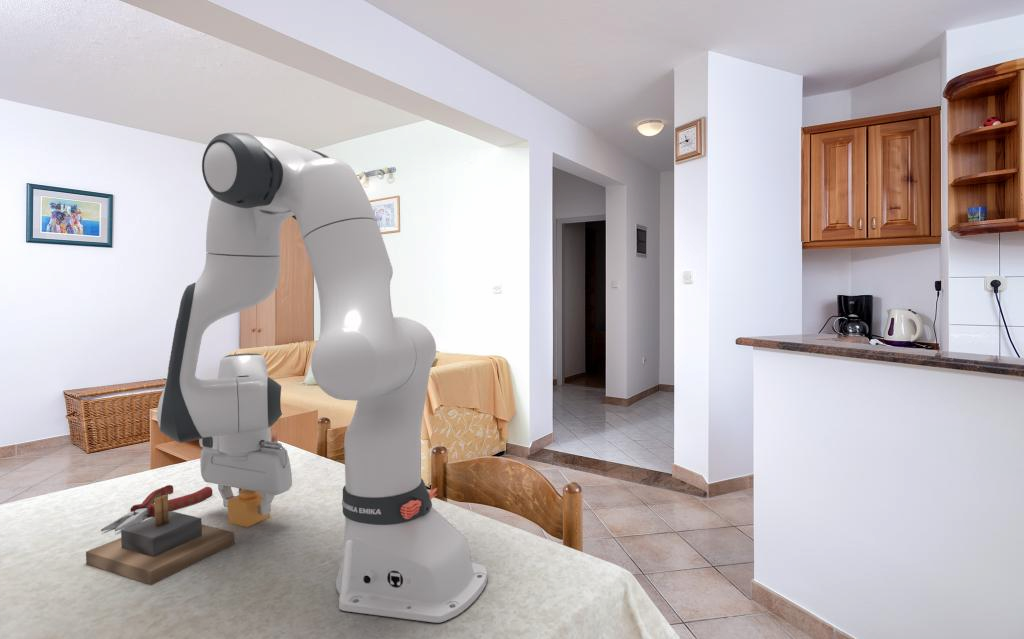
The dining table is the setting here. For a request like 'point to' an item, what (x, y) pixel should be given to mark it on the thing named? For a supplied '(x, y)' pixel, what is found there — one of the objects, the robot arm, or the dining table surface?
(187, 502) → the pliers
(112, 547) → the board
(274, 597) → the dining table surface
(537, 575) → the dining table surface
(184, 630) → the dining table surface
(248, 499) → the orange knobbed cube
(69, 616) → the dining table surface
